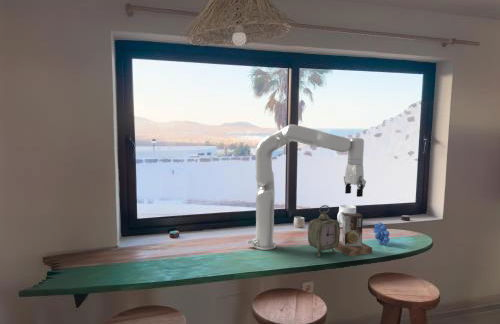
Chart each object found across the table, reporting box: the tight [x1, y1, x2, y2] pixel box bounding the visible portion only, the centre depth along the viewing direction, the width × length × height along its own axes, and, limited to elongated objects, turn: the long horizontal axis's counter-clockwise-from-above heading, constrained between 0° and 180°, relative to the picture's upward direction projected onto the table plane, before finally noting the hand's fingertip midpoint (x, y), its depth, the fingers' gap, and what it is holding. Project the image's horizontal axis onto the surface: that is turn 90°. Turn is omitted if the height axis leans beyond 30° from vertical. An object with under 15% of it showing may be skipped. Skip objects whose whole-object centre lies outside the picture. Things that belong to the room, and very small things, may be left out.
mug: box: [336, 204, 357, 227], centre depth 227 cm, size 15×11×13 cm
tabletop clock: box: [307, 204, 341, 258], centre depth 172 cm, size 14×9×25 cm, turn 122°
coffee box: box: [341, 212, 364, 246], centre depth 178 cm, size 9×6×16 cm
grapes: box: [373, 221, 390, 246], centre depth 189 cm, size 12×7×12 cm, turn 21°
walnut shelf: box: [334, 240, 373, 257], centre depth 179 cm, size 14×14×3 cm
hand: (353, 194), depth 177 cm, fingers open, 9 cm apart
